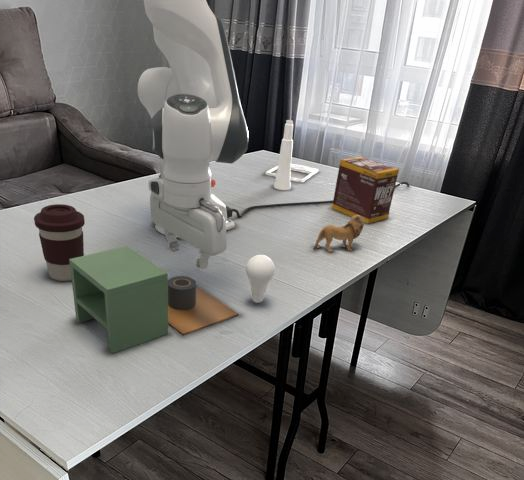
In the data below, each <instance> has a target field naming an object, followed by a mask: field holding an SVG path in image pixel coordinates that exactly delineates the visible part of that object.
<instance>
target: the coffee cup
mask: <svg viewBox="0 0 524 480" xmlns="http://www.w3.org/2000/svg"><path fill="white" fill-rule="evenodd" d="M33 220H34V222H33V223H34V226H35V227H36V228H37V229H38V231H39V233H38V237H39V241H40V245H41V249H42V254H43V259H44V261H45V263H46V268H47V272H48V275H49V277H50V278H51V279H53V280H55V281H60V282H70V281H71V282H72V278H71V270H70V262H69V259H72V258H76V257H81V256H85V252H84V251H85V250H84V249H85V248H84V247H85V245H84V231H83V227H84V226H85V216H84V214H83V213H82V212H80V211H77V209H76V208H75V207H74V206H72V205H68V204H62V203H60V204H59V203H56V204H49V205H46V206H44V207H42V208H41V209H40V211H39V212H38V213H36V214H35V215H34V217H33Z"/></svg>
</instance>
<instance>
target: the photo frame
mask: <svg viewBox="0 0 524 480" xmlns="http://www.w3.org/2000/svg"><path fill="white" fill-rule="evenodd" d="M277 169H278V164H277V165H275V166H274V167H272V168H270V169H268V170H267V171H265V175H266V176H271V177H275V178H276V174H277V173H276V172H275V171H277ZM319 170H320V169H319V168H315V167H311V166H306V165H301V164H296V163H292V162H291V171H294V172H300V173H304V174H308V175H306V176H305V177H302V178H298V177H293V176H291V181H293V182H297V183H301V184H303V183H304V182H306V181H307V180H309V179H311V178H312V177H313V176H314V175H316V174H317V173H318V172H319ZM274 172H275V173H274Z"/></svg>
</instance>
